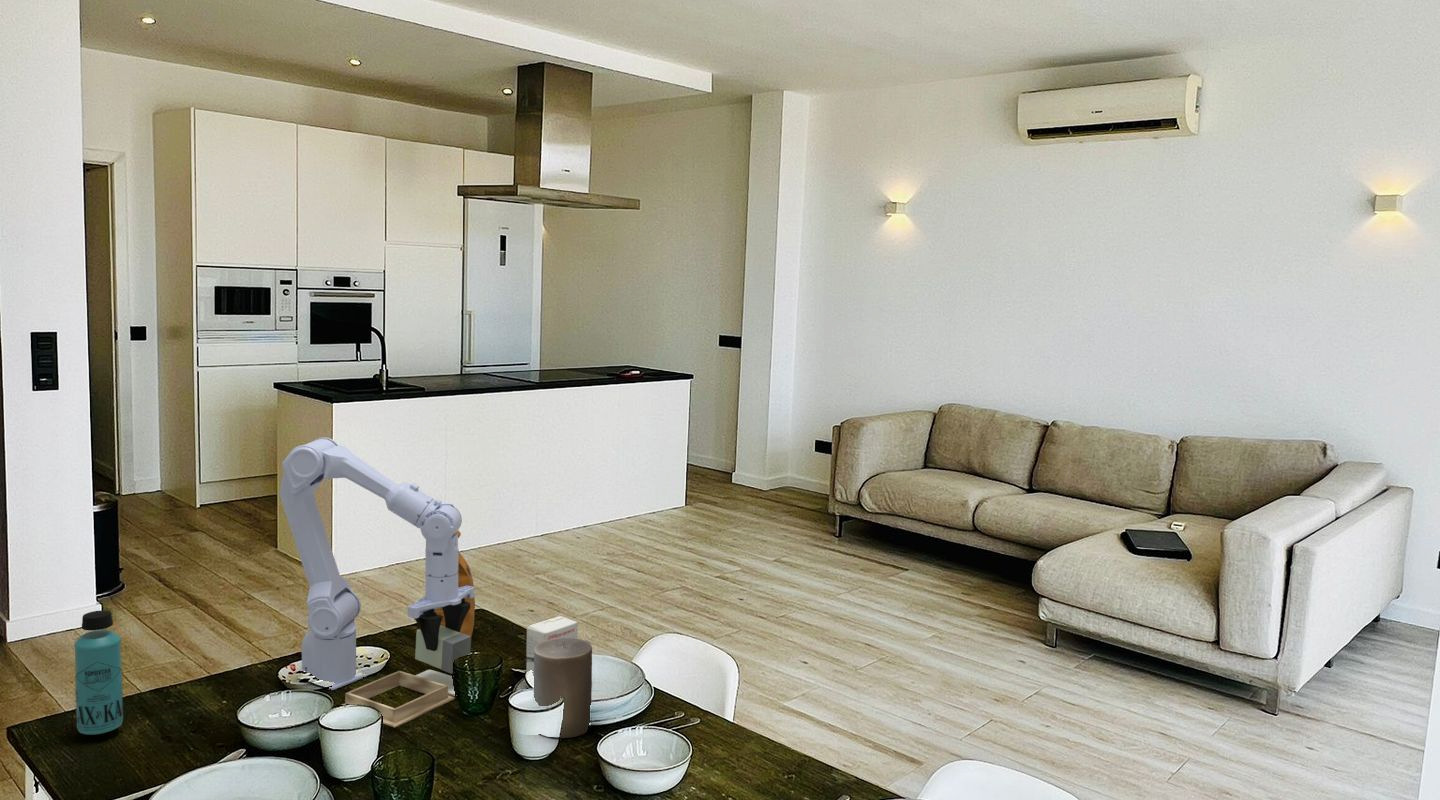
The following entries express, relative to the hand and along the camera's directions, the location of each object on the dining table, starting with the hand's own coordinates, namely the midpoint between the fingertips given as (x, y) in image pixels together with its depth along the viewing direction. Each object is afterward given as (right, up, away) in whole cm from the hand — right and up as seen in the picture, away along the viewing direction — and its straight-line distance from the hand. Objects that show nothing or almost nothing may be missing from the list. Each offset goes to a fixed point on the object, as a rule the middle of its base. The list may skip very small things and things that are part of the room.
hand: (441, 645), depth 182 cm
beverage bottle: (-48, -9, -23) cm, 54 cm away
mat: (0, -7, +1) cm, 7 cm away
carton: (-5, -8, -8) cm, 13 cm away
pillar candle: (+24, -10, -15) cm, 30 cm away
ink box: (+20, -8, +2) cm, 21 cm away
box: (0, -3, 0) cm, 3 cm away
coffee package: (-5, -4, +23) cm, 24 cm away
